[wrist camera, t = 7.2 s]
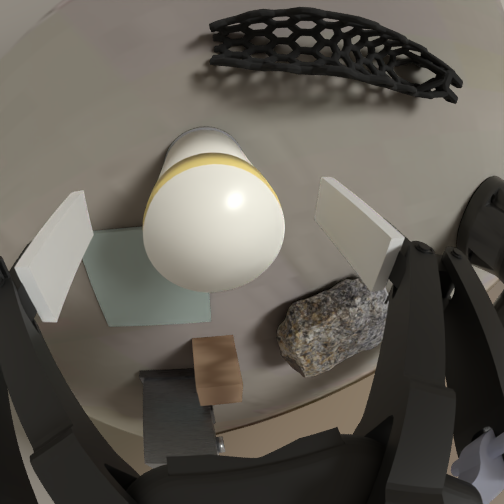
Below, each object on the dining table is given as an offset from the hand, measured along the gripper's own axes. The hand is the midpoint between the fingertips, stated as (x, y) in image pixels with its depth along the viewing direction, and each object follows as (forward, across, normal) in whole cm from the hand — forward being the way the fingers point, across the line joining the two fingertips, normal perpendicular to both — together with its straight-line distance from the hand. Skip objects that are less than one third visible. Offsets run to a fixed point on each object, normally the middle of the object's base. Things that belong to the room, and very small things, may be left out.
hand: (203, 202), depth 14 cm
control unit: (+7, +6, +33) cm, 34 cm away
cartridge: (+8, 0, 0) cm, 8 cm away
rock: (+8, -15, +19) cm, 26 cm away
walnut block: (+7, 0, +23) cm, 24 cm away
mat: (+8, +6, +11) cm, 15 cm away
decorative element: (+8, -12, -10) cm, 17 cm away
